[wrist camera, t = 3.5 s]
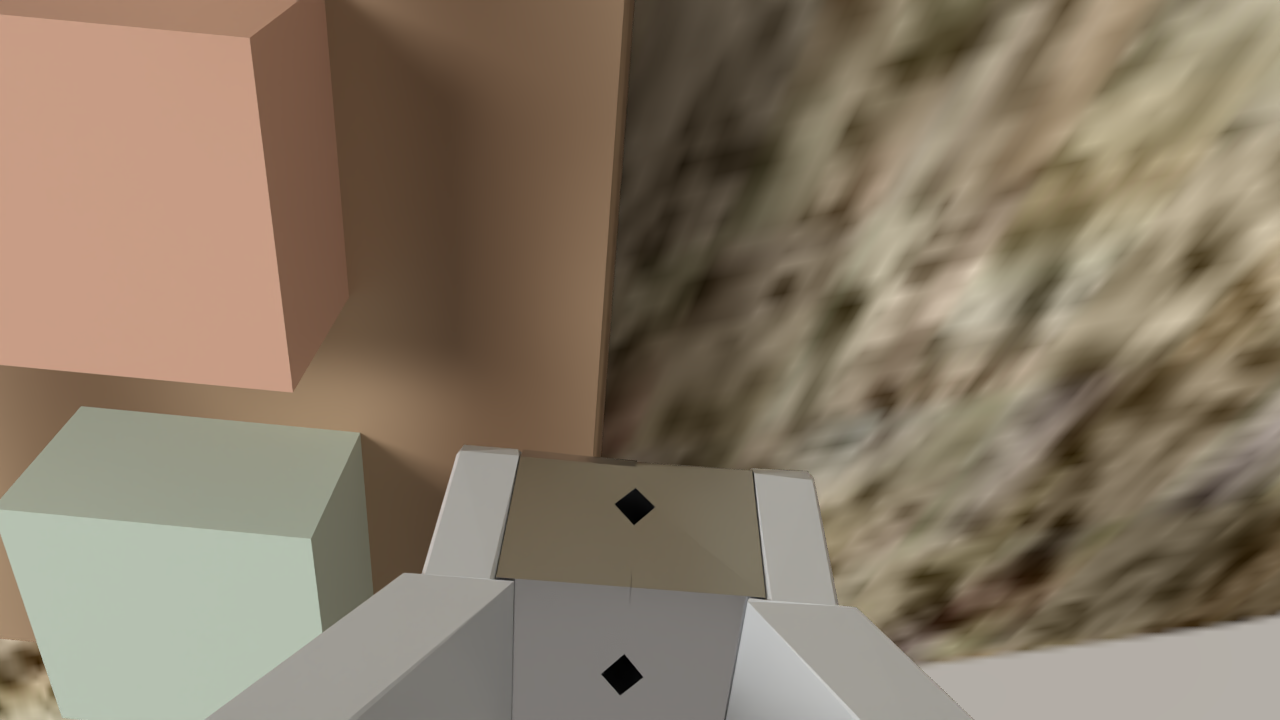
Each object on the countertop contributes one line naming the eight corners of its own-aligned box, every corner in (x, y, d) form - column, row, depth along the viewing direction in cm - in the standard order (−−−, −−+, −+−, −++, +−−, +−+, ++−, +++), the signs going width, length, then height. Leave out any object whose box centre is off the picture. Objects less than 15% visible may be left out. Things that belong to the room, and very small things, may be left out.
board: (644, -139, 15) (630, -98, 12) (592, 563, 23) (576, 693, 20) (-447, -242, 15) (-720, -226, 12) (-137, 495, 23) (-261, 613, 20)
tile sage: (360, 432, 17) (310, 538, 15) (376, 628, 19) (336, 743, 17) (81, 406, 17) (-8, 508, 15) (132, 605, 19) (62, 717, 17)
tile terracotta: (322, -19, 13) (249, 37, 11) (349, 296, 15) (293, 392, 13) (-38, -52, 13) (-180, -3, 11) (44, 267, 15) (-59, 359, 13)
